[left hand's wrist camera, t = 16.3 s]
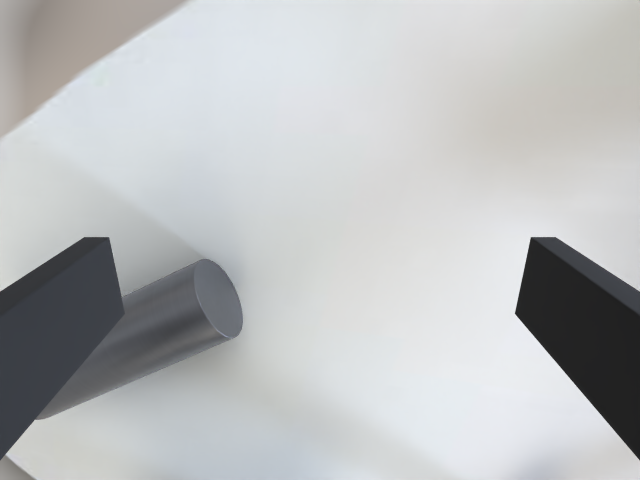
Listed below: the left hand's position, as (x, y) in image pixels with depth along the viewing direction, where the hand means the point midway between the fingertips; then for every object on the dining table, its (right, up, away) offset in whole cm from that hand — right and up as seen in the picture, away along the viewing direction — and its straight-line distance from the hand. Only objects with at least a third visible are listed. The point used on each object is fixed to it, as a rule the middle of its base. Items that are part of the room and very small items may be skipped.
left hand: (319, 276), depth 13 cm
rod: (-21, -8, +35) cm, 42 cm away
